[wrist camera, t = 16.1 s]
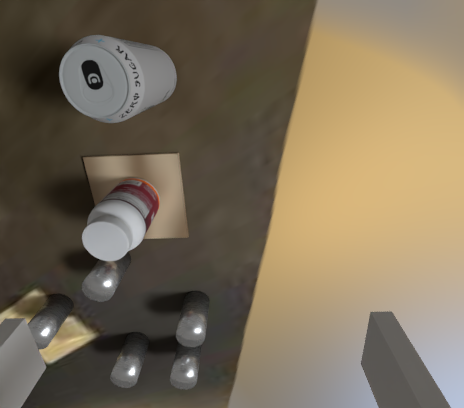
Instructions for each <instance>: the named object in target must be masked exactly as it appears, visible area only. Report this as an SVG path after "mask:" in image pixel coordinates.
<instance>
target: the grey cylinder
mask: <svg viewBox="0 0 464 408" xmlns="http://www.w3.org/2000/svg"><path fill="white" fill-rule="evenodd" d="M201 346H202V344H201V345H199V346H197V347H186V346H184V345H182V344H180V343H179V342H178V345H177V350H176V354H175V359H174V363H173V368H172V372H171V377H170V382H171V384H172V385H173V386H175V387H176V388H179V389H190V388H192V387H194V386H195V385H196V383H197V375H198V368H199V361H200V353H201Z"/></svg>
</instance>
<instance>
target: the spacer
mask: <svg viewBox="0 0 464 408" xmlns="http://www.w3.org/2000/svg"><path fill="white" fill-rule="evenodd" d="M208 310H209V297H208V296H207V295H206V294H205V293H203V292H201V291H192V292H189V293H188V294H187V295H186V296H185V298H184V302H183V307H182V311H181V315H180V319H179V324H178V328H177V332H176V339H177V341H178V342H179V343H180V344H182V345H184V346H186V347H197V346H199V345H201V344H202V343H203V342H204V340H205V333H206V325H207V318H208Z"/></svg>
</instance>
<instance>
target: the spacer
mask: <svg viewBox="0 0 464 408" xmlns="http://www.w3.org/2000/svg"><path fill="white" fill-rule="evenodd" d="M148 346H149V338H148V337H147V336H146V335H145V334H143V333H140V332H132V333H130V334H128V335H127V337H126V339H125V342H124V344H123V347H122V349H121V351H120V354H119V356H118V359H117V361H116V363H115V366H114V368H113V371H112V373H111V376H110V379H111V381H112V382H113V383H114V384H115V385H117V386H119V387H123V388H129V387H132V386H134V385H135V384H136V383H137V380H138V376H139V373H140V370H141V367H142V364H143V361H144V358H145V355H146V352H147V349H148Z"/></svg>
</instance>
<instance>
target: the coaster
mask: <svg viewBox="0 0 464 408" xmlns="http://www.w3.org/2000/svg"><path fill="white" fill-rule="evenodd" d="M83 160H84V164H85V168H86V172H87V176H88V180H89V184H90V188H91V191H92V195H93V199H94V203H95V206H96V205H97V204H98V203H99V202H100V201H101V200H102V199H103V198H104V197H105V196H106V195H107V194H108V193H109V192H110V191H111V190H112V189H113V188H114V187H115V186H116V185H117V184H118V183H120V182H121V181H123V180H125V179H127V178H140V179H143V180H146V181H148V182H149V183H150V184H152V185H153V186H154V187H155V189H156V190H157V192H158V194H159V197H160V206H159V209H158V212H157V214H156V215H155V217H154V219H153V221H152V223H151V225H150V227H149V229H148V230H147V232H146V234H145V236H144V238H143V239H152V238H186V237H188V236H189V233H188V224H187V216H186V208H185V200H184V192H183V184H182V175H181V167H180V159H179V152H176V153H151V154H127V155H102V156H84V157H83Z"/></svg>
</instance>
